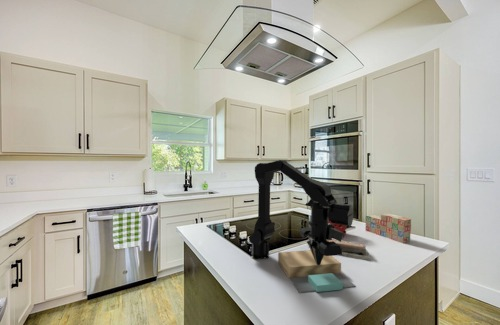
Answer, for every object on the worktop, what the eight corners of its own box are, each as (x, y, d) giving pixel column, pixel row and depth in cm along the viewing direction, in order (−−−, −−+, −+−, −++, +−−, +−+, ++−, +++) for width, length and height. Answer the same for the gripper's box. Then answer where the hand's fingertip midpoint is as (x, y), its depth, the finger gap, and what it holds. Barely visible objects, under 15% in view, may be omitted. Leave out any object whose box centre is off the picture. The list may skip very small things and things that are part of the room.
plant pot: (318, 230, 127) (319, 210, 127) (339, 229, 129) (340, 210, 129) (329, 238, 114) (330, 216, 114) (352, 238, 116) (353, 215, 116)
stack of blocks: (365, 230, 129) (365, 210, 128) (371, 229, 131) (372, 209, 131) (403, 243, 110) (404, 219, 109) (410, 242, 112) (411, 218, 112)
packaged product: (324, 242, 97) (326, 235, 106) (324, 253, 97) (325, 245, 106) (370, 250, 90) (367, 242, 99) (370, 261, 90) (367, 252, 99)
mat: (299, 292, 67) (299, 291, 67) (289, 278, 75) (289, 277, 75) (355, 286, 71) (355, 285, 71) (340, 273, 79) (340, 273, 79)
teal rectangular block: (308, 275, 73) (307, 281, 73) (316, 285, 67) (316, 292, 67) (332, 273, 75) (331, 278, 75) (342, 283, 69) (342, 289, 69)
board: (289, 278, 75) (289, 267, 75) (278, 262, 87) (278, 252, 87) (340, 273, 79) (341, 263, 79) (323, 258, 91) (323, 249, 90)
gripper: (358, 227, 67) (356, 276, 68) (325, 212, 86) (324, 251, 86) (326, 229, 65) (324, 280, 66) (299, 213, 84) (298, 253, 84)
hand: (318, 264), depth 75 cm, fingers closed
